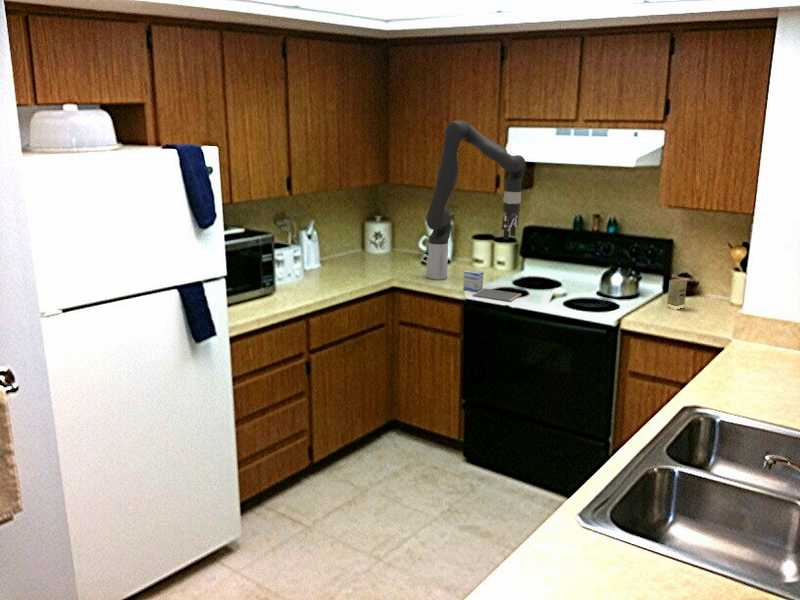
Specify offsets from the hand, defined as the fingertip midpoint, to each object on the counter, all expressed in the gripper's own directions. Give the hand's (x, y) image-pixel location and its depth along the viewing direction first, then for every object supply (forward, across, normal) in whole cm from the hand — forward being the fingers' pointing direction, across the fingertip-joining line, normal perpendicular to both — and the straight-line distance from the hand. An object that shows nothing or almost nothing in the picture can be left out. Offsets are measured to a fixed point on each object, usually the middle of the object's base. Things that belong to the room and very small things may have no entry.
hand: (509, 237), depth 338 cm
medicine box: (+25, +8, -13) cm, 29 cm away
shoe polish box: (+23, -10, +73) cm, 77 cm away
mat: (+24, +11, 0) cm, 27 cm away
